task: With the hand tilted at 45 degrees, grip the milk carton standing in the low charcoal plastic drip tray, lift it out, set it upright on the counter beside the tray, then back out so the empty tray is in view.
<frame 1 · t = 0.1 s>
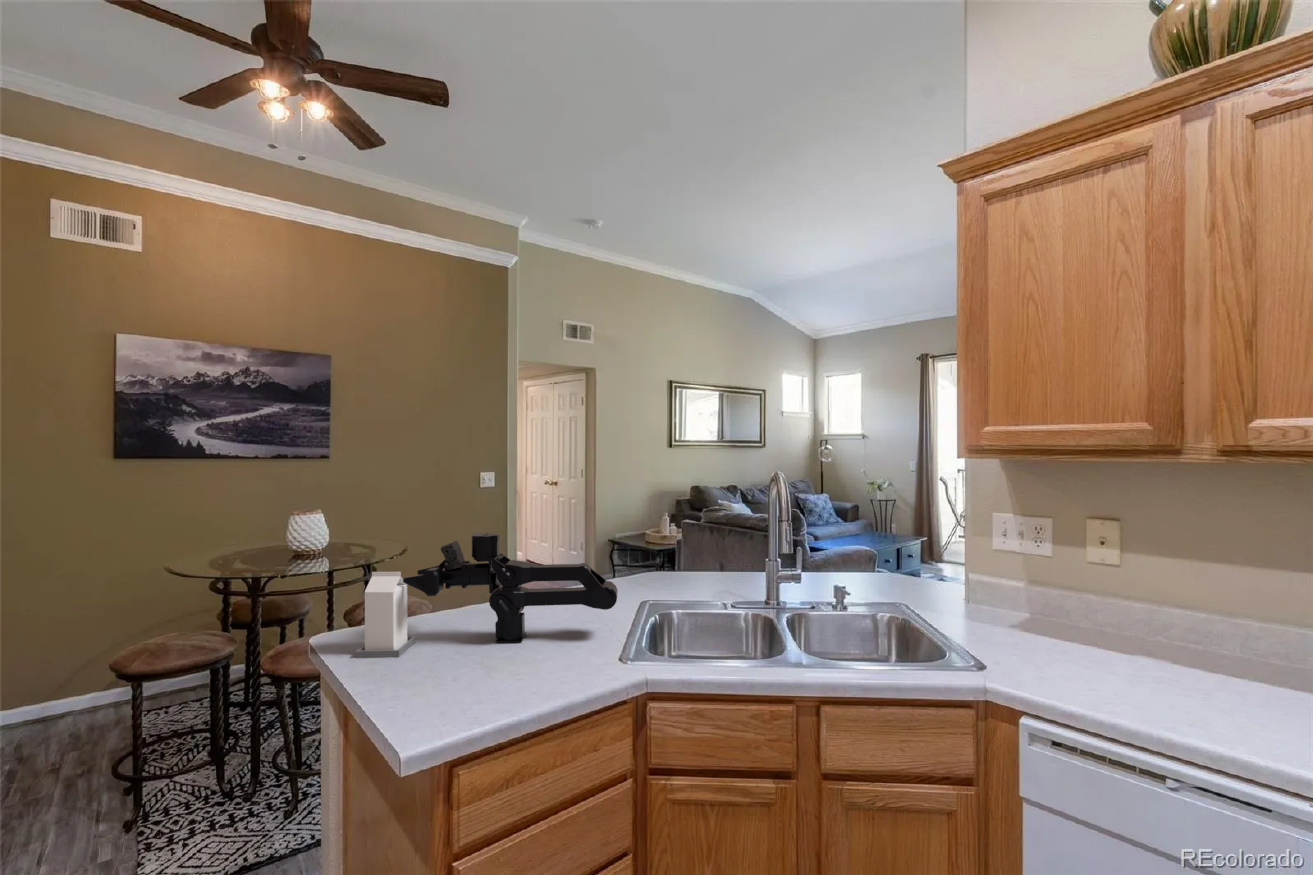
hand: (410, 576, 148), 17 cm above the worktop, tool horizontal, fingers open, 9 cm apart
milk carton: (386, 650, 141), resting in drip tray
drip tray: (386, 649, 141), on the worktop
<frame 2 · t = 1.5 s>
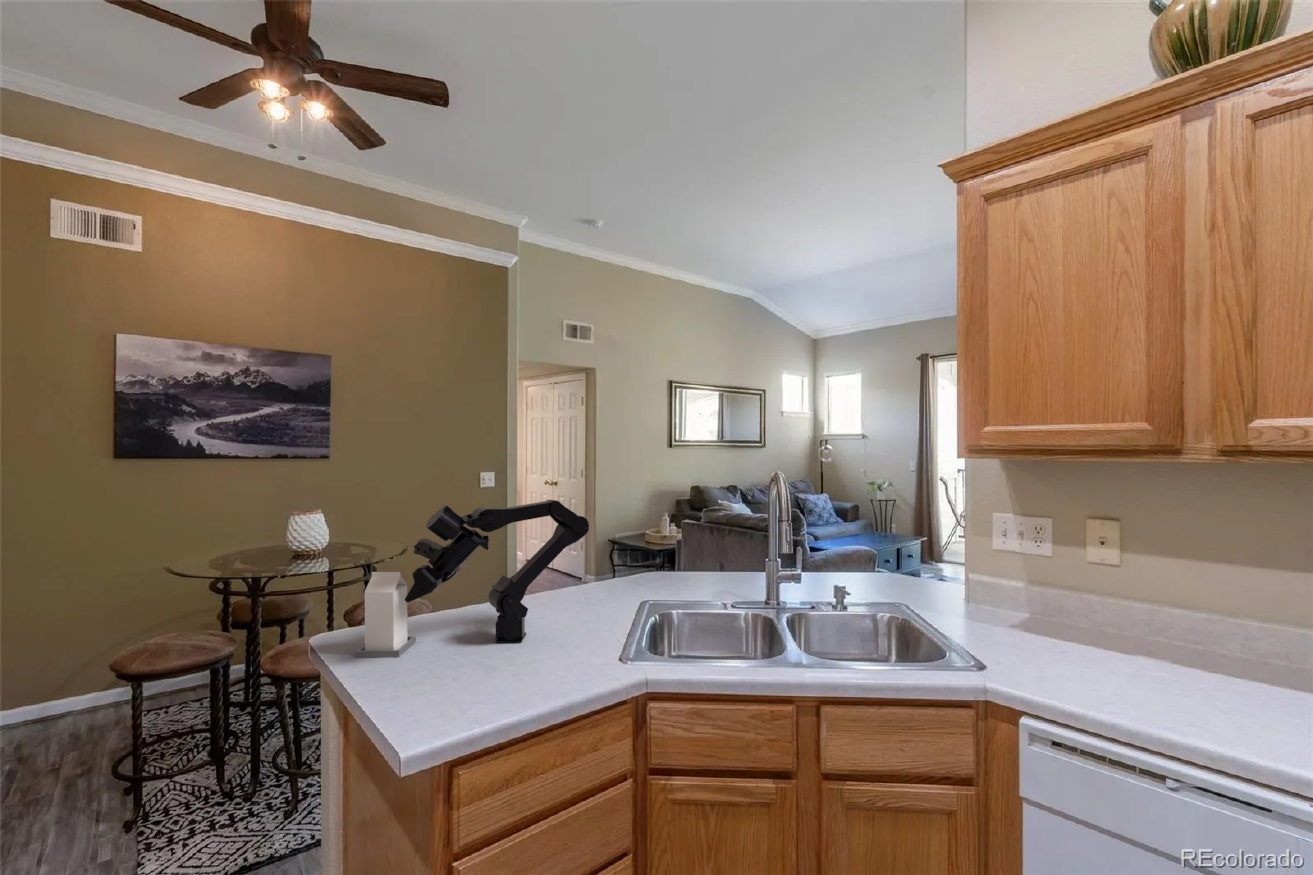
hand: (413, 596, 142), 13 cm above the worktop, tool tilted 45°, fingers open, 9 cm apart
nothing on the worktop moved.
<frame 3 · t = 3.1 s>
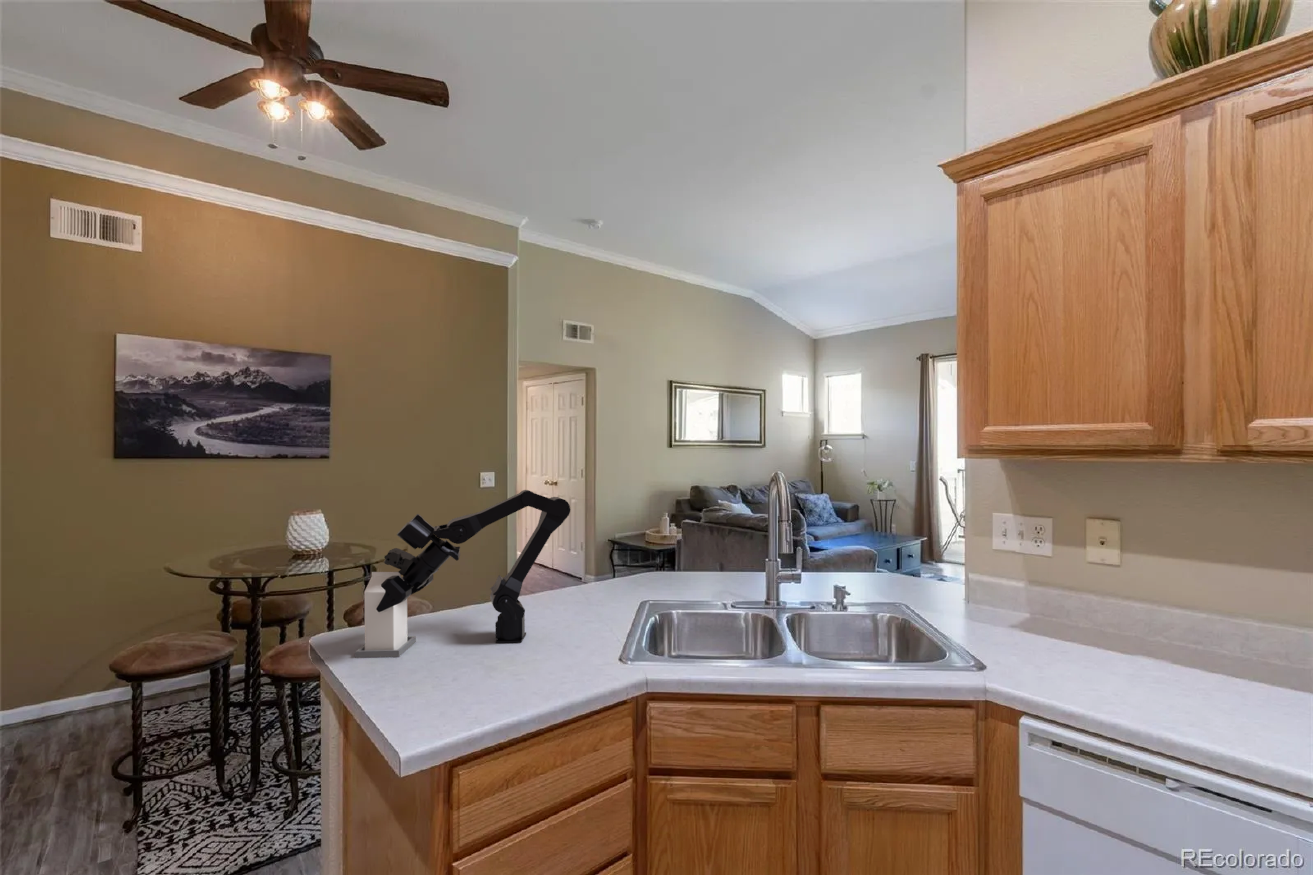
hand: (384, 606, 142), 11 cm above the worktop, tool tilted 45°, fingers closed on milk carton, 7 cm apart
milk carton: (386, 650, 141), resting in drip tray, touching gripper
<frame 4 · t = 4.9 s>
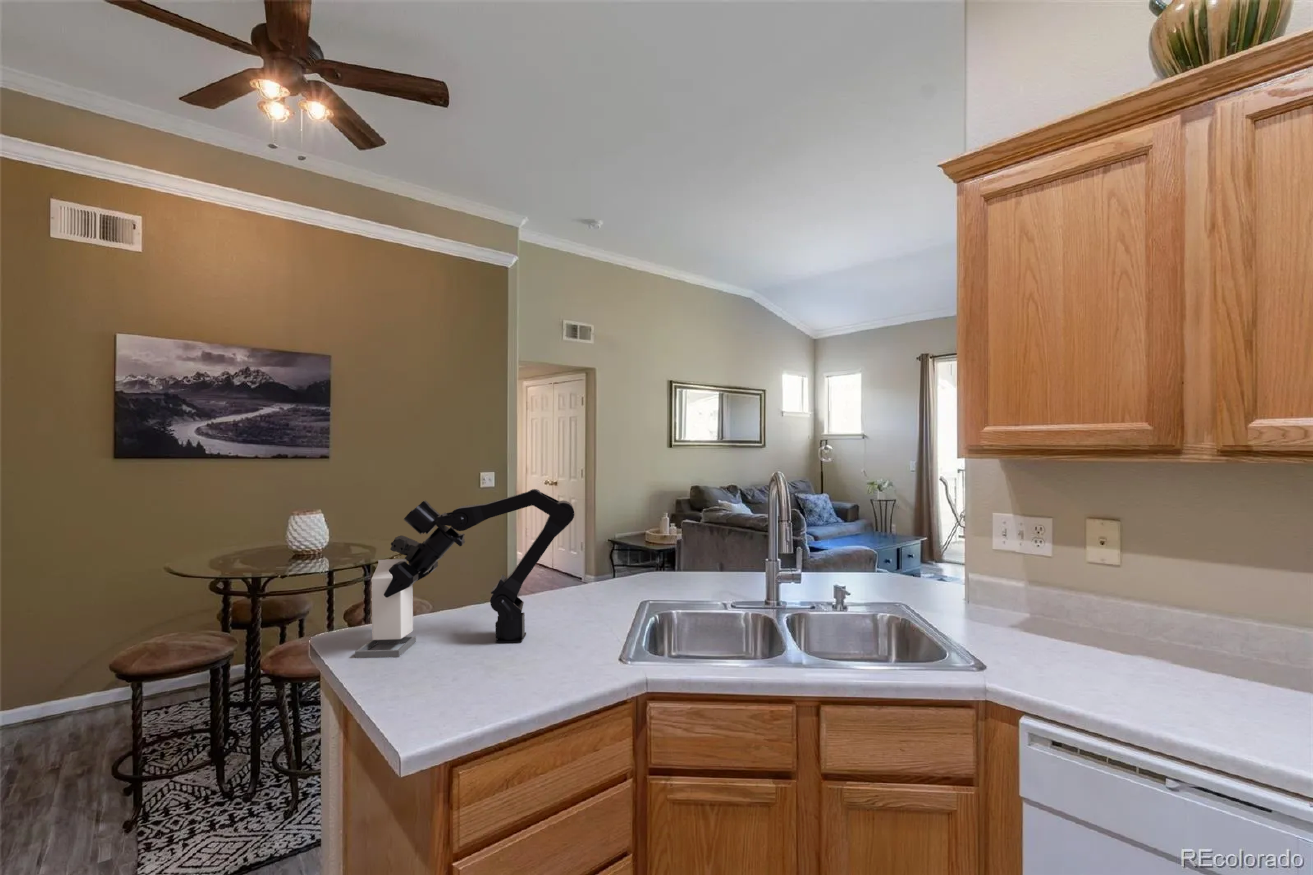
hand: (391, 592, 145), 13 cm above the worktop, tool tilted 45°, fingers closed on milk carton, 7 cm apart
milk carton: (393, 636, 144), point 2 cm above the worktop, touching gripper
when the fingers open (12 cm above the worktop, at t = 6.7 s): milk carton stays where it is, on the worktop.
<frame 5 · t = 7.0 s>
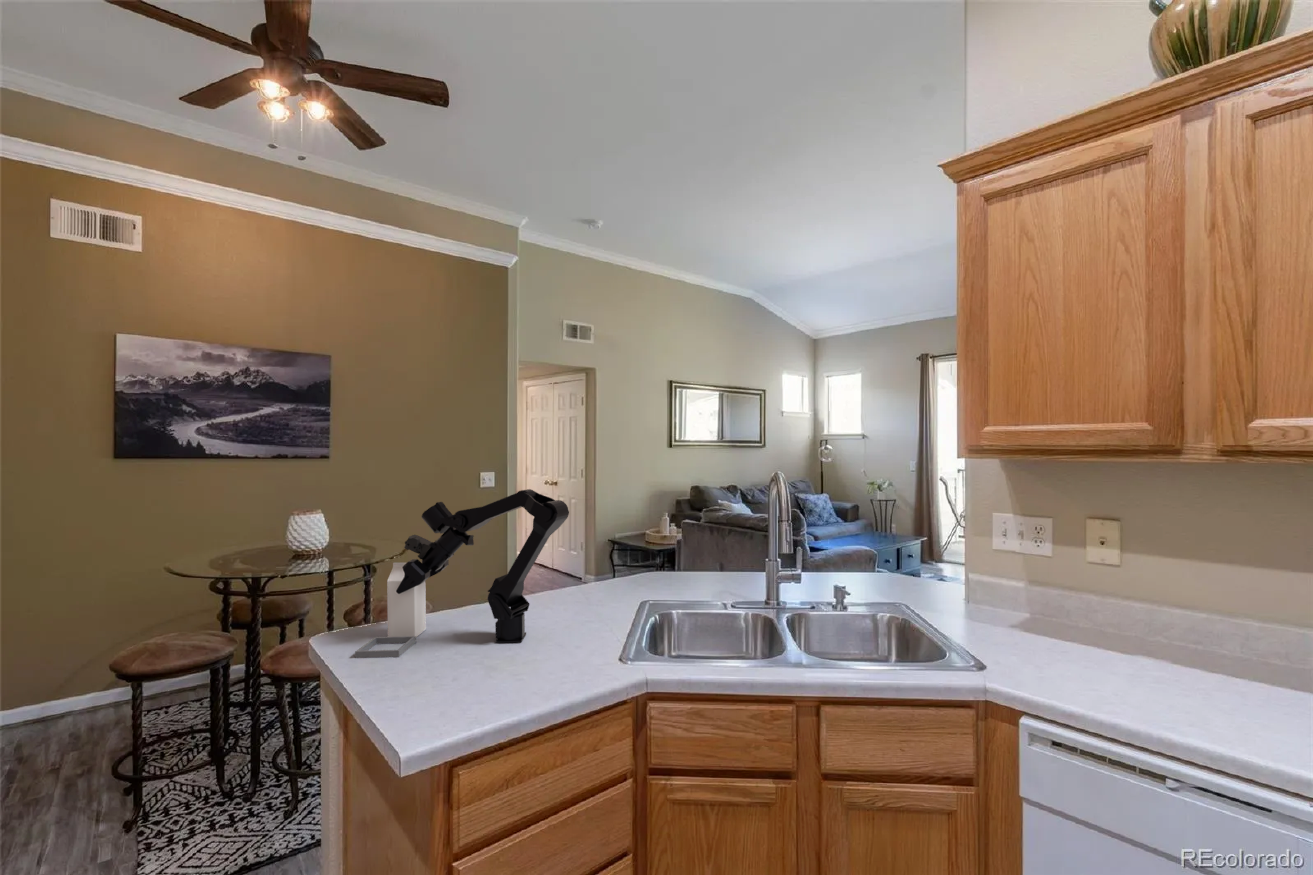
hand: (404, 588, 153), 12 cm above the worktop, tool tilted 45°, fingers open, 9 cm apart
milk carton: (407, 635, 153), on the worktop
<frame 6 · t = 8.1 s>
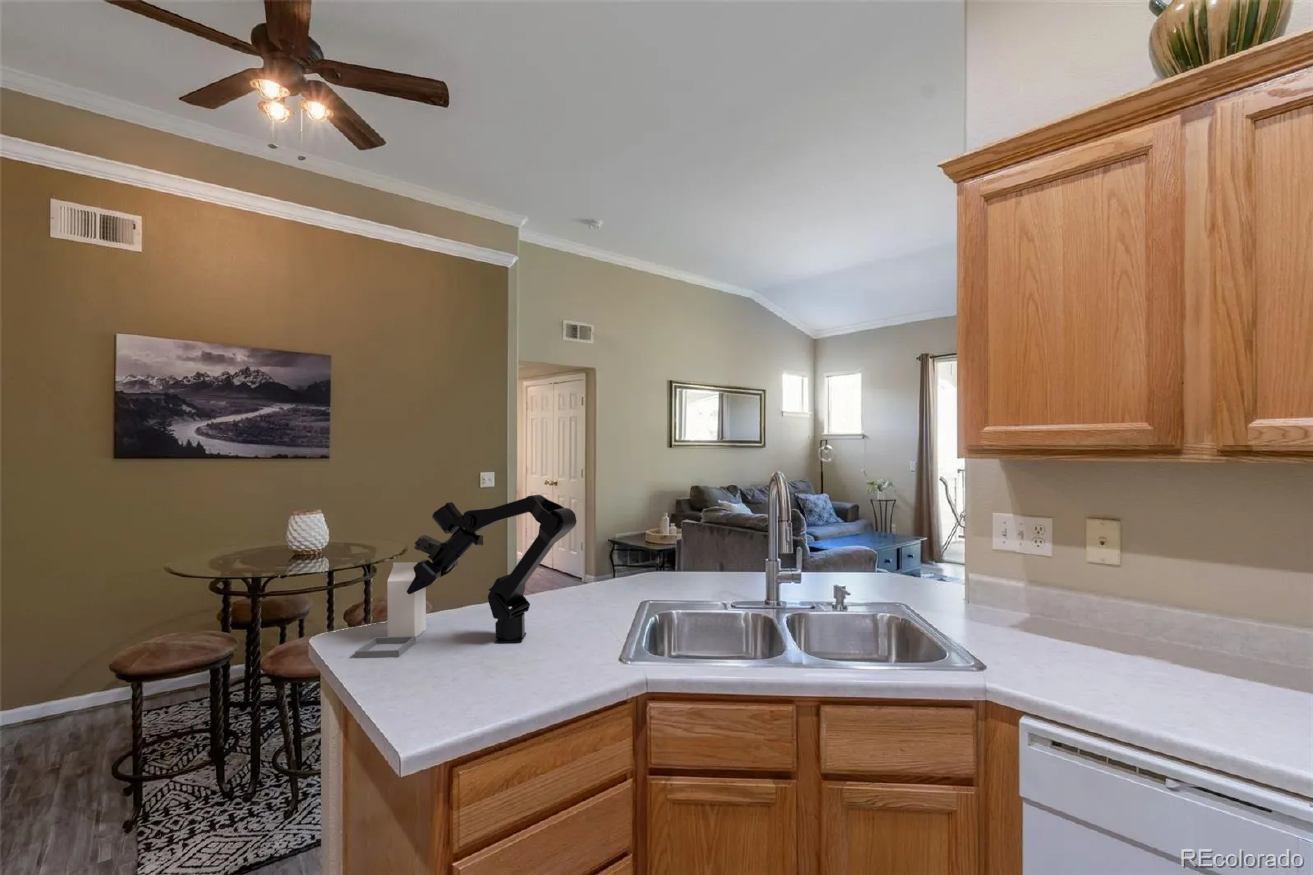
hand: (414, 588, 153), 12 cm above the worktop, tool tilted 45°, fingers open, 9 cm apart
nothing on the worktop moved.
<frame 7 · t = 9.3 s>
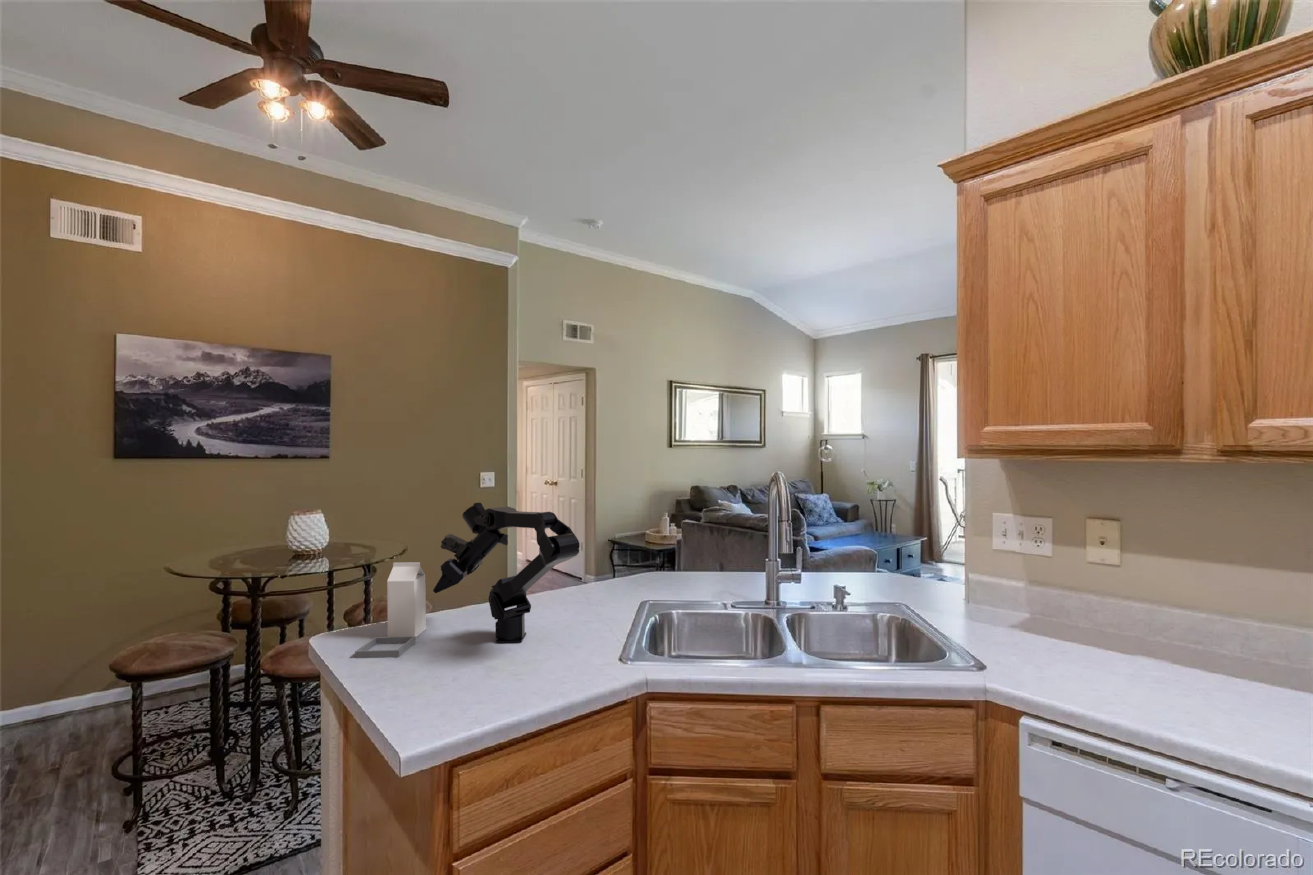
hand: (440, 587, 154), 12 cm above the worktop, tool tilted 45°, fingers open, 9 cm apart
nothing on the worktop moved.
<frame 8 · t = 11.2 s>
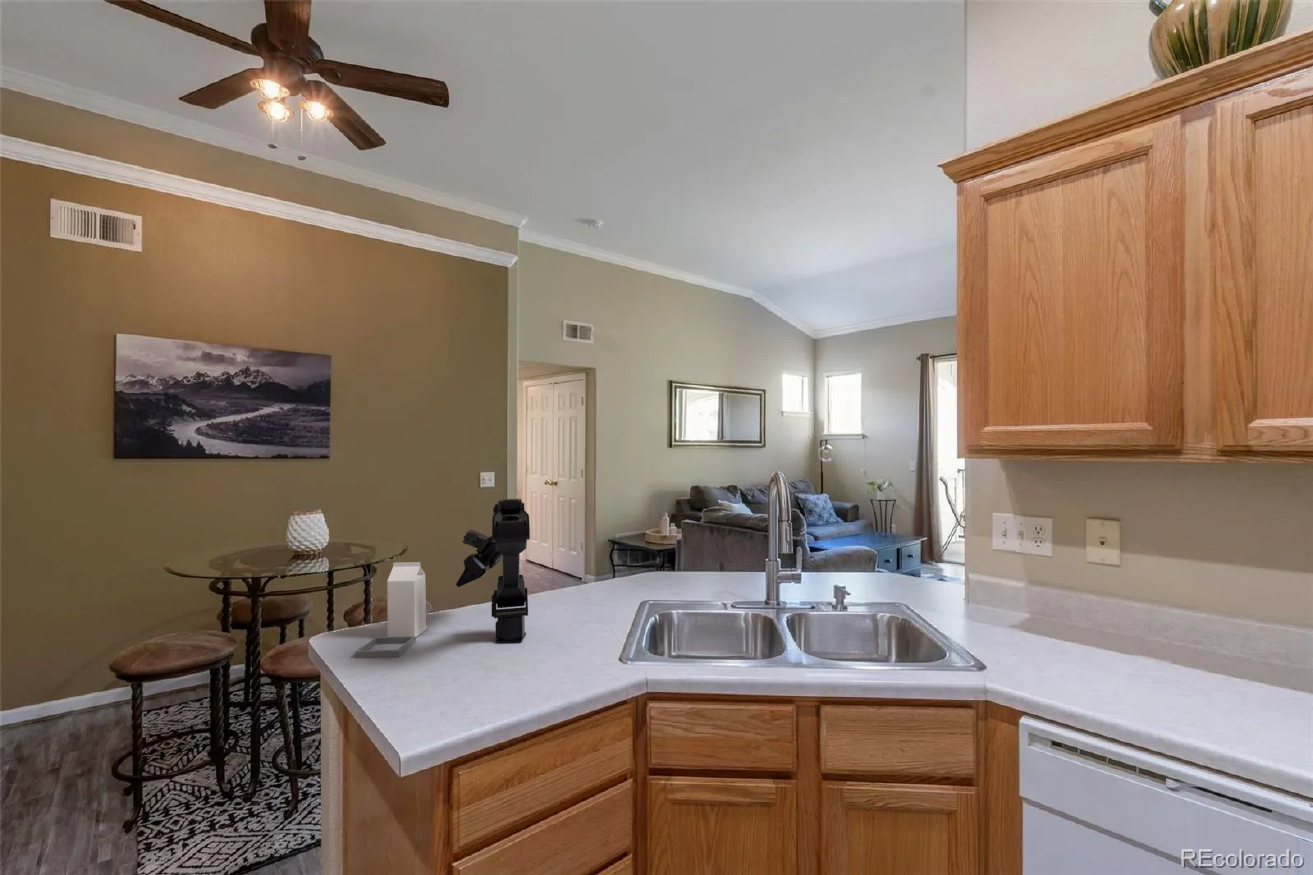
hand: (462, 581, 158), 13 cm above the worktop, tool tilted 45°, fingers open, 9 cm apart
nothing on the worktop moved.
at the end: milk carton inside the target area (1.6 cm from its centre), on the worktop; milk carton tilted 0°; the gripper is holding nothing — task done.
